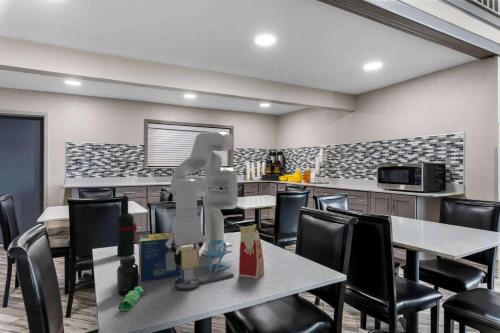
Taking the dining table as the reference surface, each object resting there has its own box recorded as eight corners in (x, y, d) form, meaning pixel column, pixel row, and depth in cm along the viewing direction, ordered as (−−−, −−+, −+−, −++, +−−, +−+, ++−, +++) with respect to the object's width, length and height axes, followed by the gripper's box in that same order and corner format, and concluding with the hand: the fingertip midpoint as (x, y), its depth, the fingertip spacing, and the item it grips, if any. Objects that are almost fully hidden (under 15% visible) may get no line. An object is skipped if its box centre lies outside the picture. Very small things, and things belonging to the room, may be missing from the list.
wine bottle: (136, 256, 145) (135, 194, 145) (114, 257, 144) (114, 194, 144) (141, 252, 152) (141, 193, 153) (121, 252, 152) (120, 193, 152)
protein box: (138, 273, 122) (138, 235, 122) (176, 268, 128) (176, 231, 128) (140, 282, 112) (139, 241, 112) (181, 276, 118) (181, 237, 118)
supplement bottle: (121, 288, 106) (121, 254, 106) (140, 287, 107) (140, 254, 107) (114, 297, 99) (113, 260, 99) (135, 296, 100) (135, 260, 100)
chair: (204, 271, 123) (203, 242, 123) (213, 265, 131) (213, 237, 131) (220, 273, 121) (220, 243, 121) (229, 267, 128) (229, 239, 128)
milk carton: (264, 270, 123) (264, 222, 124) (257, 278, 115) (257, 226, 115) (243, 268, 126) (243, 221, 127) (235, 276, 118) (235, 225, 118)
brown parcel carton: (191, 261, 112) (191, 245, 112) (197, 266, 107) (197, 249, 107) (176, 264, 109) (176, 248, 109) (181, 269, 104) (181, 251, 104)
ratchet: (226, 272, 122) (226, 256, 122) (237, 279, 114) (237, 262, 114) (170, 284, 110) (170, 267, 110) (179, 293, 102) (179, 274, 102)
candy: (132, 309, 89) (125, 297, 89) (123, 315, 89) (115, 304, 89) (146, 292, 101) (139, 282, 101) (138, 298, 101) (131, 288, 101)
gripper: (204, 209, 116) (204, 256, 116) (159, 213, 107) (159, 264, 107) (212, 212, 110) (212, 261, 110) (166, 216, 101) (166, 270, 100)
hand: (186, 262), depth 108 cm, fingers closed on brown parcel carton, 6 cm apart
